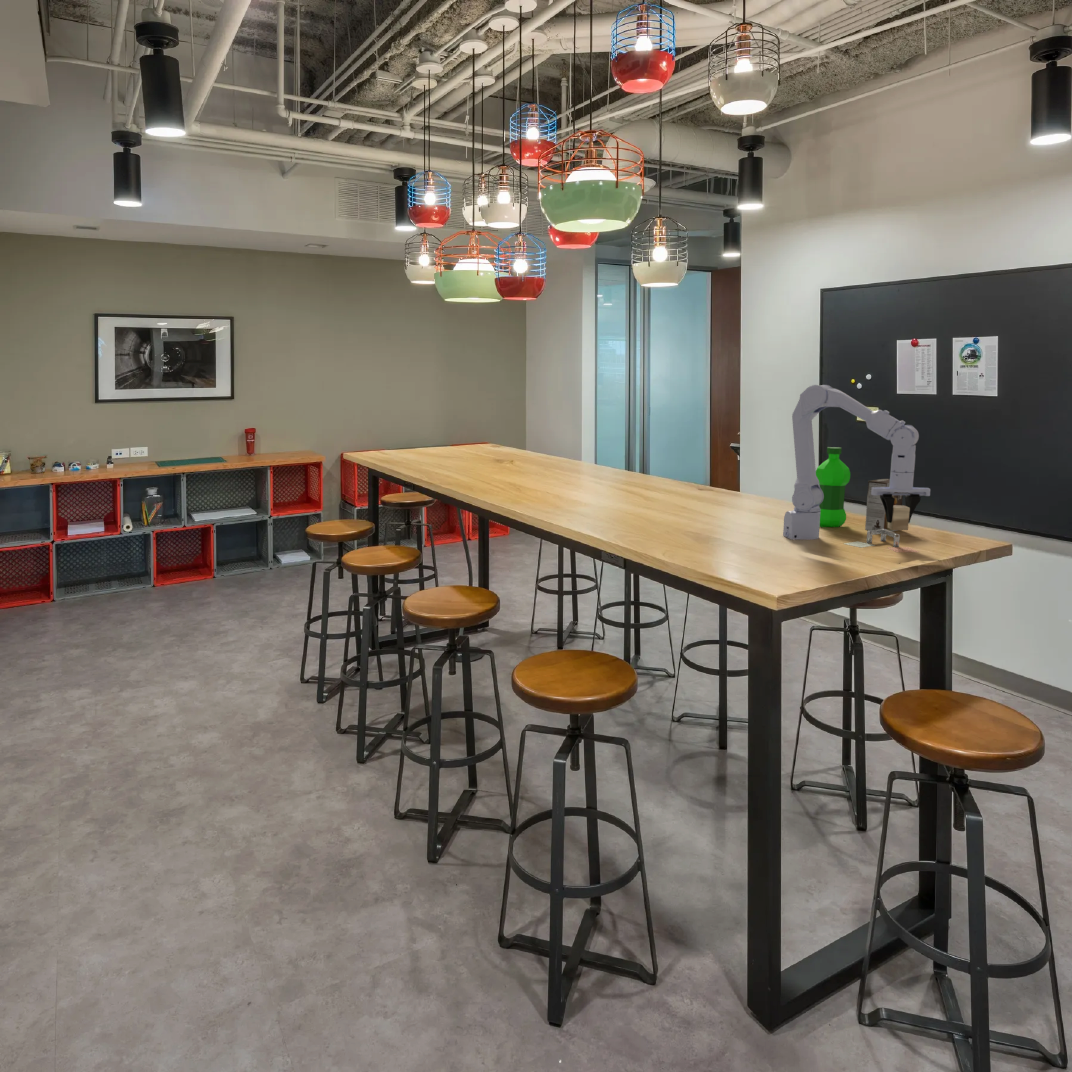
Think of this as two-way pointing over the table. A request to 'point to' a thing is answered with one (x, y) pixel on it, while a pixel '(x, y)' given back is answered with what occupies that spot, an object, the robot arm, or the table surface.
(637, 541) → the table surface
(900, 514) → the birch block
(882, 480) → the coffee box
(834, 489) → the plastic bottle
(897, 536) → the bent wire
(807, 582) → the table surface
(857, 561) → the table surface
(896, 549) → the board
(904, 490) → the robot arm
